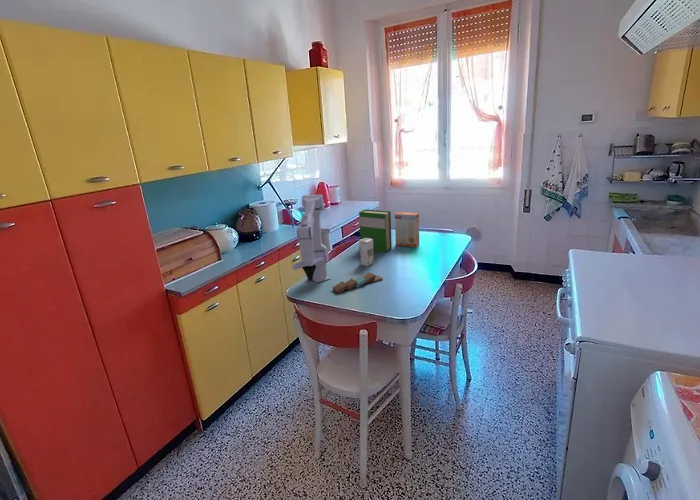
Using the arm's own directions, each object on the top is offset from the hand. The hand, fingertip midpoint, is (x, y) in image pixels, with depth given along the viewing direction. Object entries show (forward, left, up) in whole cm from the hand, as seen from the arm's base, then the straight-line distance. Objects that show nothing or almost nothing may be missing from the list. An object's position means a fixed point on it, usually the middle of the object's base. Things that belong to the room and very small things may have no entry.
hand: (310, 280), depth 166 cm
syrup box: (-21, +43, -10) cm, 49 cm away
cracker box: (-32, +80, -10) cm, 87 cm away
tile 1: (0, +12, -9) cm, 15 cm away
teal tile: (0, +22, -9) cm, 24 cm away
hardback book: (-39, +61, -10) cm, 73 cm away
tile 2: (0, +17, -9) cm, 19 cm away
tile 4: (0, +32, -9) cm, 33 cm away
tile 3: (-1, +28, -9) cm, 30 cm away
